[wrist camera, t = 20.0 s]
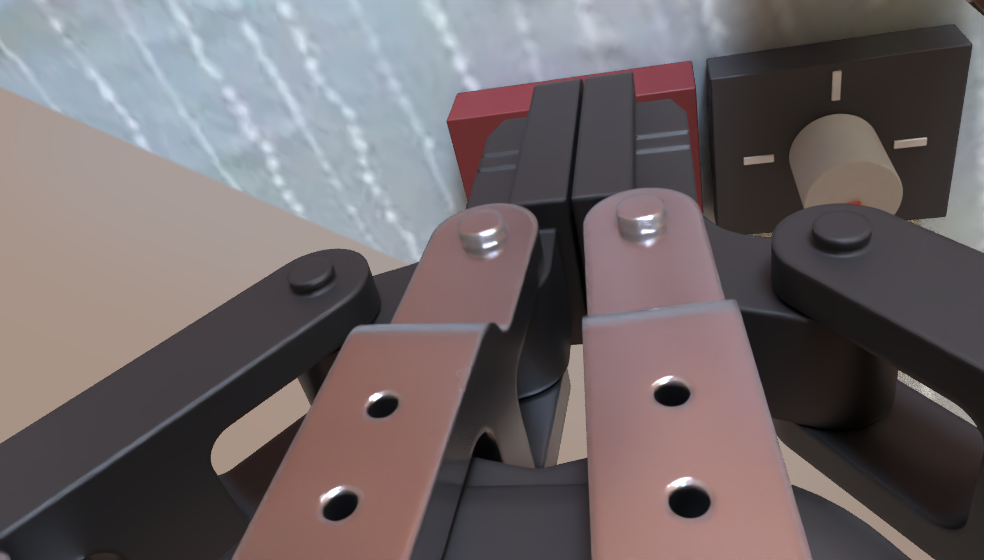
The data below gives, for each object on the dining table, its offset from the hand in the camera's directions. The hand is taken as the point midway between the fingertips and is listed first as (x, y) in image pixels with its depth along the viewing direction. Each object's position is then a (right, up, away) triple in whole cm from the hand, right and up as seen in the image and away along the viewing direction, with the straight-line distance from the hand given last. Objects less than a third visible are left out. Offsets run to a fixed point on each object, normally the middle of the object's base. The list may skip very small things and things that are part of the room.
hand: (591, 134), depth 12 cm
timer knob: (+15, +4, +26) cm, 30 cm away
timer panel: (+15, +5, +28) cm, 32 cm away
